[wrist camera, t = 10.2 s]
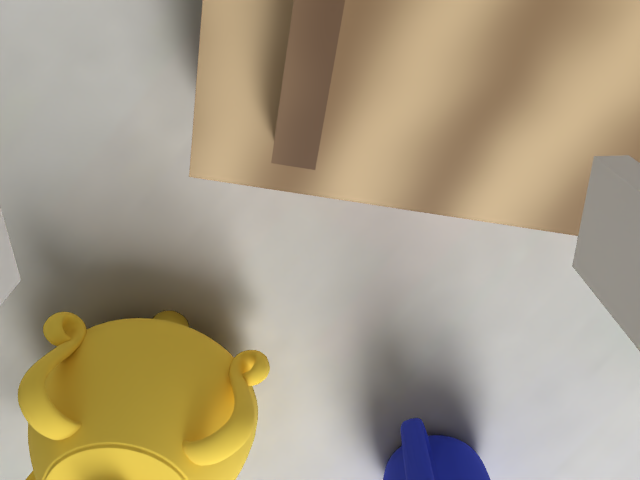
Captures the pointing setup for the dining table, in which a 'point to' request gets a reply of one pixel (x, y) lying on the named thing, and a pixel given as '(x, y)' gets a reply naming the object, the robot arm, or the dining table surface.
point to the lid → (420, 102)
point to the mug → (432, 457)
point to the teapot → (139, 402)
